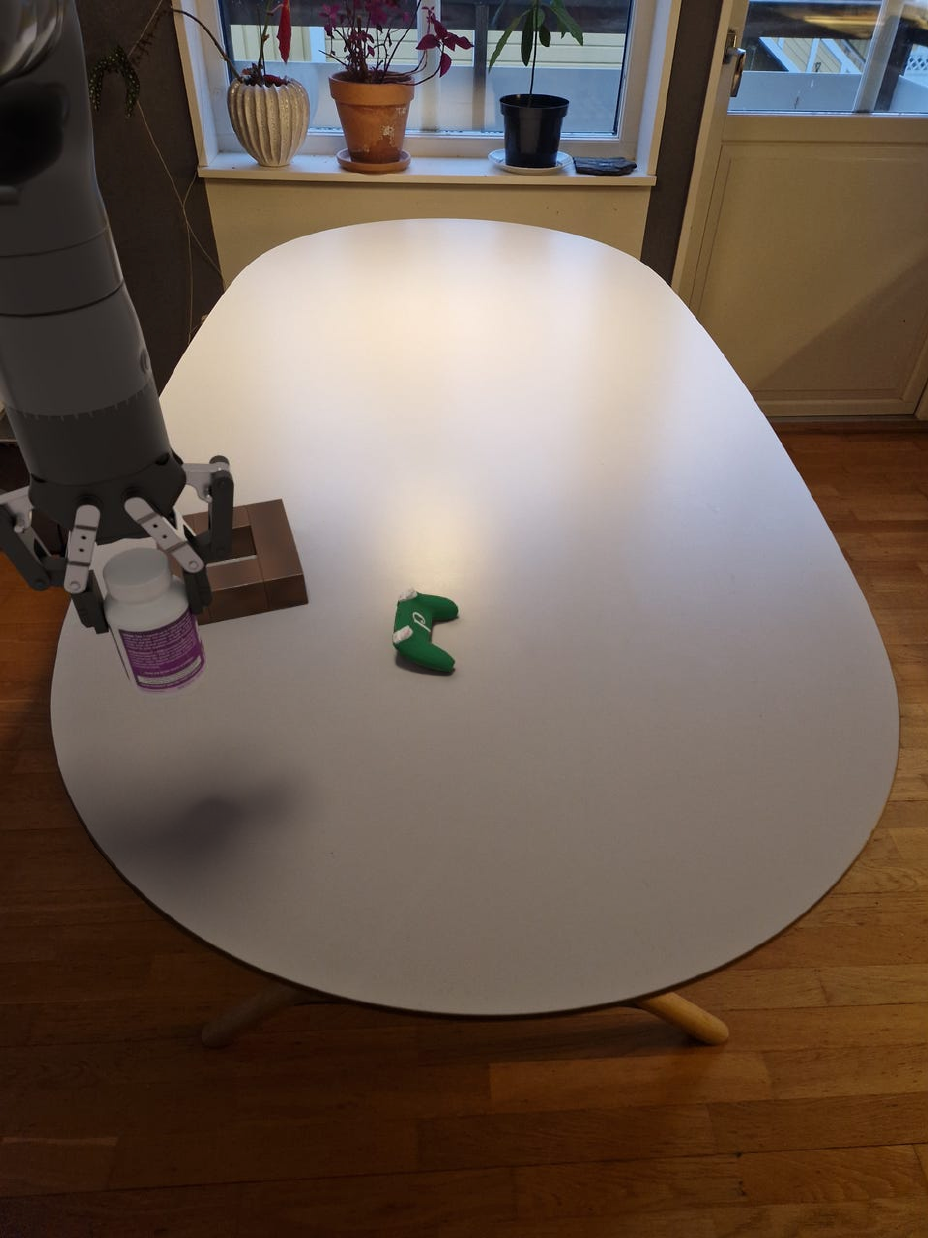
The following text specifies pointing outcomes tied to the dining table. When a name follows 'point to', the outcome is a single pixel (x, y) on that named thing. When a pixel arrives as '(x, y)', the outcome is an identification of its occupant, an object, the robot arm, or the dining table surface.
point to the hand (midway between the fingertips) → (150, 615)
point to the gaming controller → (422, 628)
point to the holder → (251, 564)
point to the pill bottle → (153, 624)
